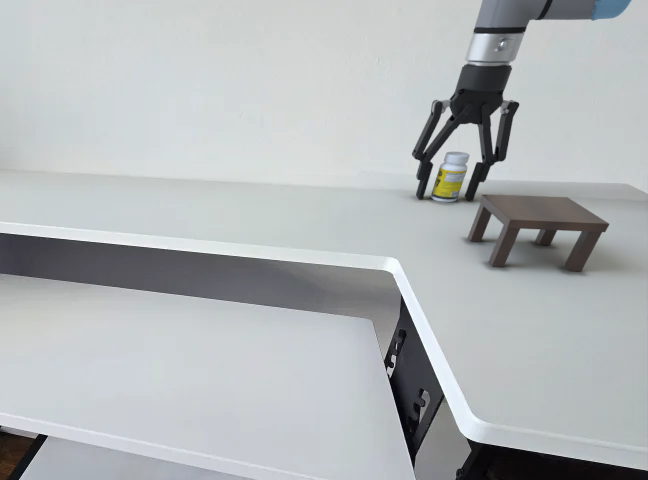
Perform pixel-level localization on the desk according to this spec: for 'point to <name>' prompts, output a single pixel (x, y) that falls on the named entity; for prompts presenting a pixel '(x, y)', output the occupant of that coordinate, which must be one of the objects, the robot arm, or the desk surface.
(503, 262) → the small wooden table
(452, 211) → the desk surface
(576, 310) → the desk surface
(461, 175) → the supplement bottle
